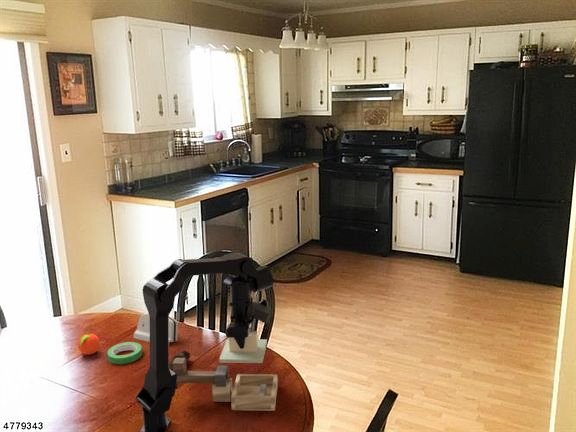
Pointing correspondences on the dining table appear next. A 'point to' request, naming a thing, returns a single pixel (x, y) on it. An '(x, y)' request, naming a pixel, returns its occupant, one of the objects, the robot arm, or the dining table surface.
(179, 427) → the dining table surface
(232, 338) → the lid
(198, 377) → the key
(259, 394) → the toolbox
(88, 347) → the clementine
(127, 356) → the tape roll
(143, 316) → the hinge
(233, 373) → the dining table surface
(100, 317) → the dining table surface
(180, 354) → the bolt
